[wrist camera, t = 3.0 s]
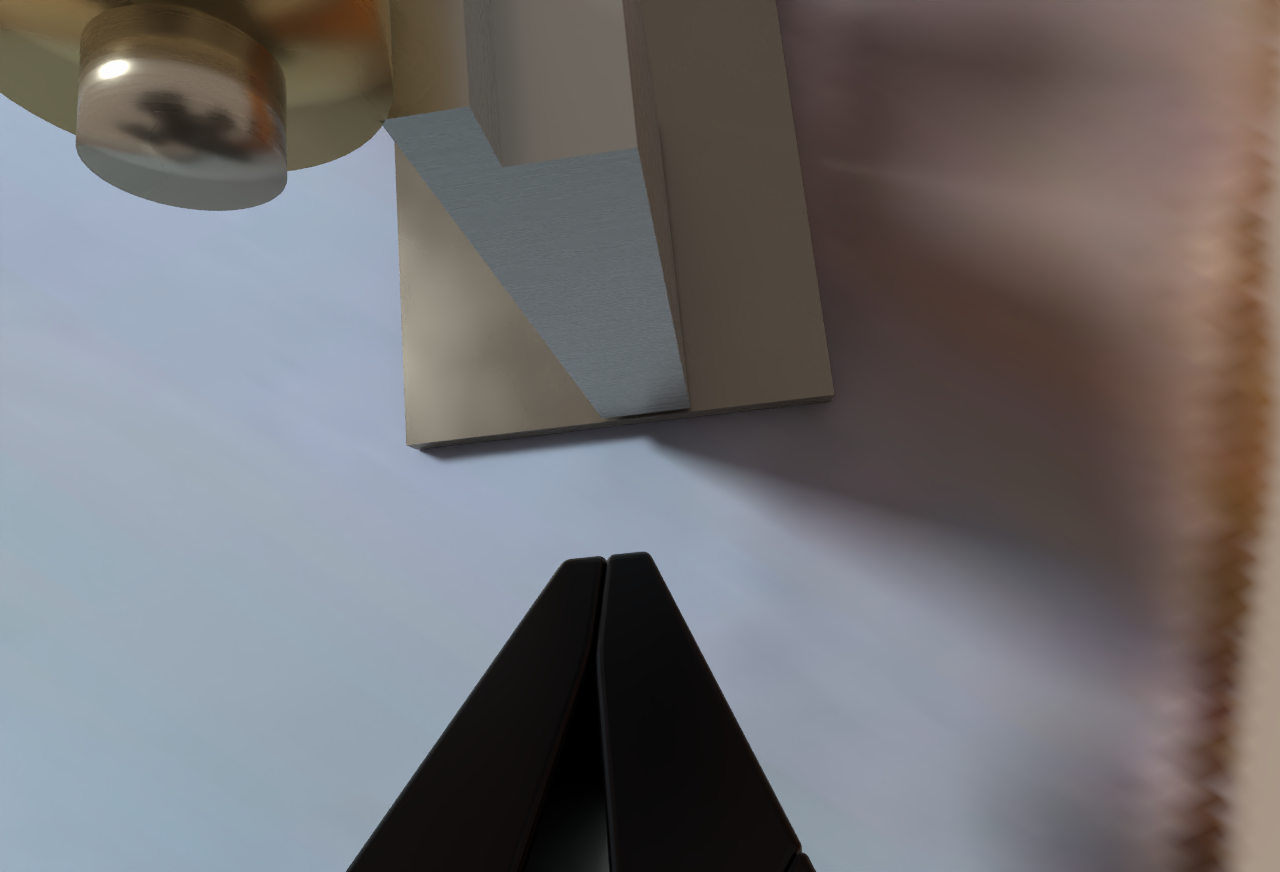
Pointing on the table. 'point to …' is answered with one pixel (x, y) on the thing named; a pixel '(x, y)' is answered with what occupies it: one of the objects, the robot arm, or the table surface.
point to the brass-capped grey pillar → (399, 137)
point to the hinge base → (701, 242)
